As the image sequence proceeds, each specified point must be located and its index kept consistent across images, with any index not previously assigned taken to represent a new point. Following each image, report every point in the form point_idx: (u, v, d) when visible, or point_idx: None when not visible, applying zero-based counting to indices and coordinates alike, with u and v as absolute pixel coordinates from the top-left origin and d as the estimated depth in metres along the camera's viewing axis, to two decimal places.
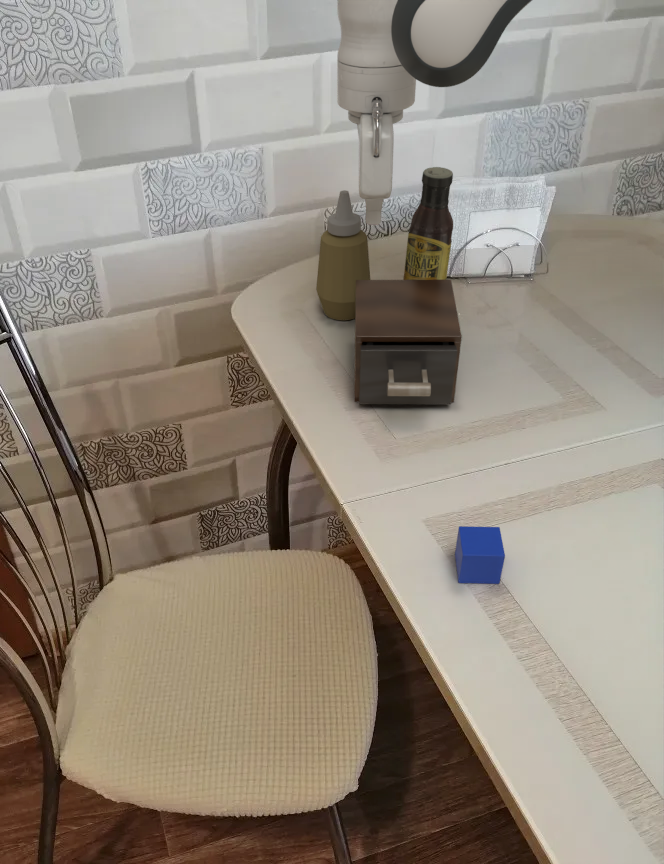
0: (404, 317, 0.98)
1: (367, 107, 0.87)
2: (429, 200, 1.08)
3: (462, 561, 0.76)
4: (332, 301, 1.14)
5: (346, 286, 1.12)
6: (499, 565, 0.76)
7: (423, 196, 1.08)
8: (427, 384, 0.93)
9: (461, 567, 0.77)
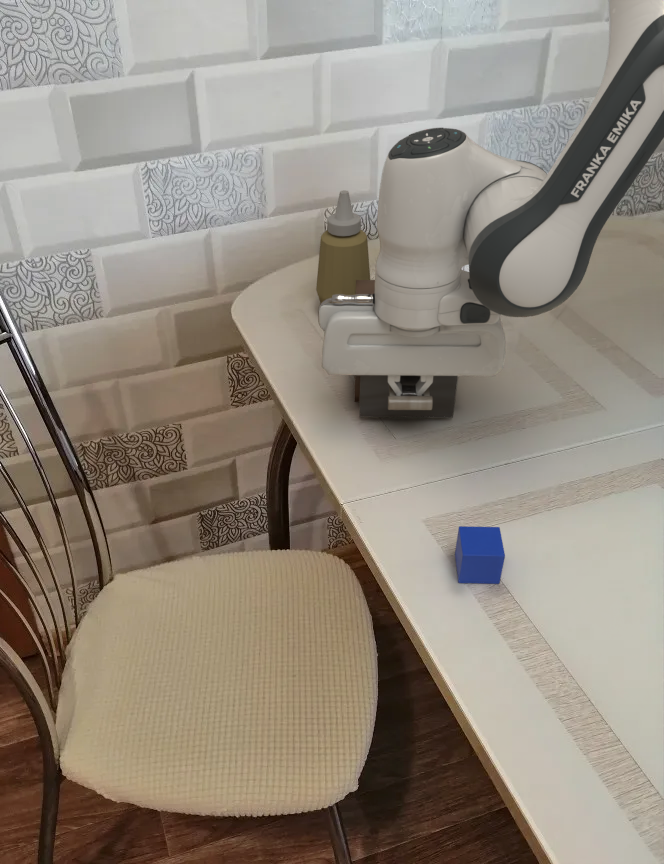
0: None
1: None
2: None
3: (462, 561, 0.76)
4: None
5: (346, 286, 1.12)
6: (499, 565, 0.76)
7: None
8: (429, 398, 0.91)
9: (461, 567, 0.77)
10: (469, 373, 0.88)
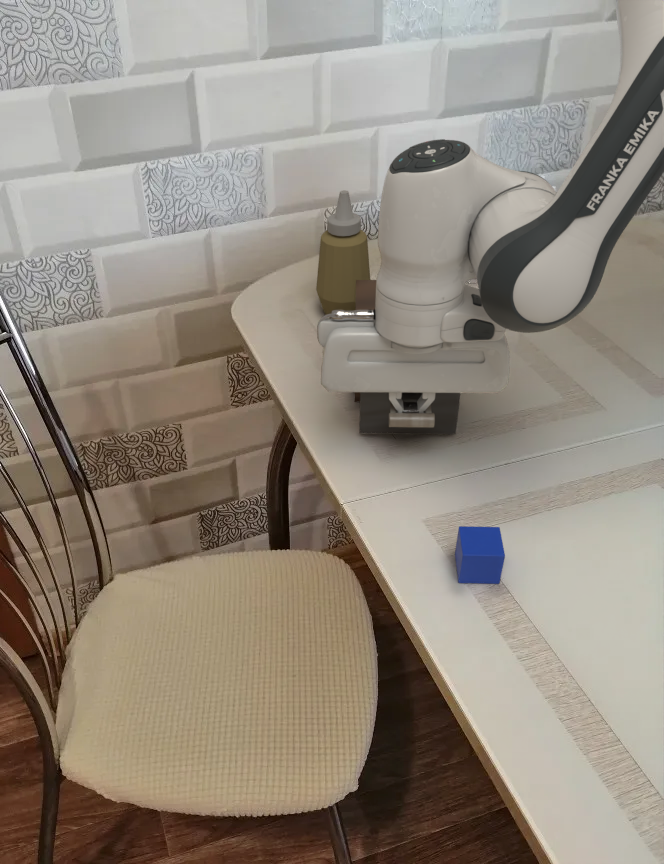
0: None
1: None
2: None
3: (462, 561, 0.76)
4: (332, 301, 1.14)
5: (346, 286, 1.12)
6: (499, 565, 0.76)
7: None
8: (431, 415, 0.88)
9: (461, 567, 0.77)
10: (472, 390, 0.86)
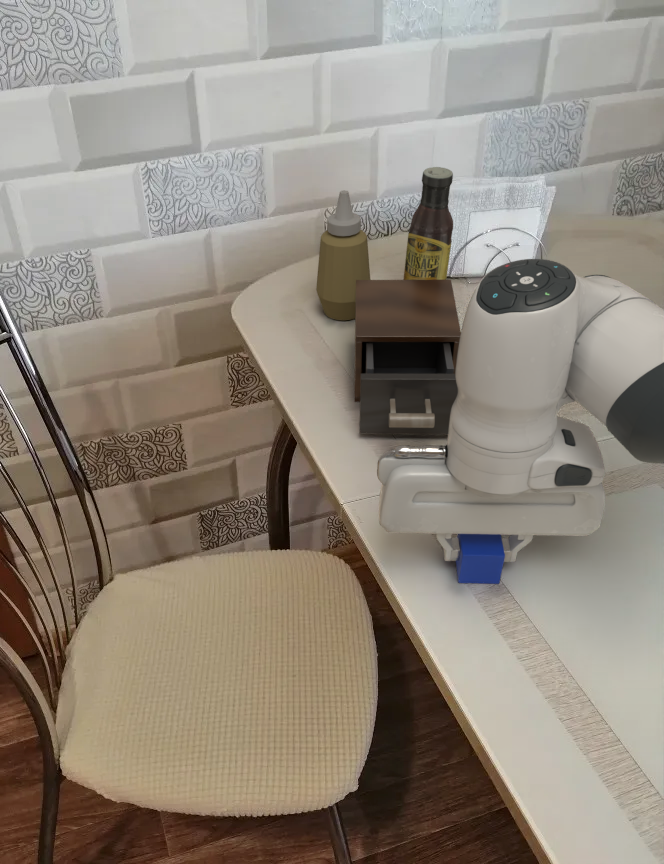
0: (404, 317, 0.98)
1: None
2: (429, 200, 1.08)
3: (462, 561, 0.76)
4: (332, 301, 1.14)
5: (346, 286, 1.12)
6: (499, 565, 0.76)
7: (423, 196, 1.08)
8: (431, 415, 0.88)
9: (461, 567, 0.77)
10: (558, 533, 0.73)
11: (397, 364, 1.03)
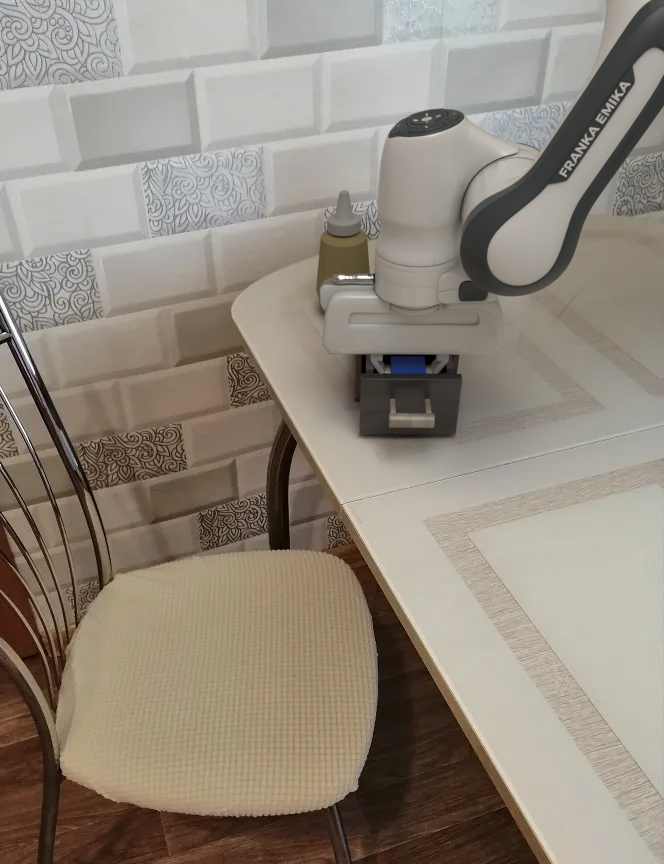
0: None
1: None
2: None
3: None
4: None
5: None
6: None
7: None
8: (431, 415, 0.88)
9: None
10: (467, 352, 0.90)
11: None
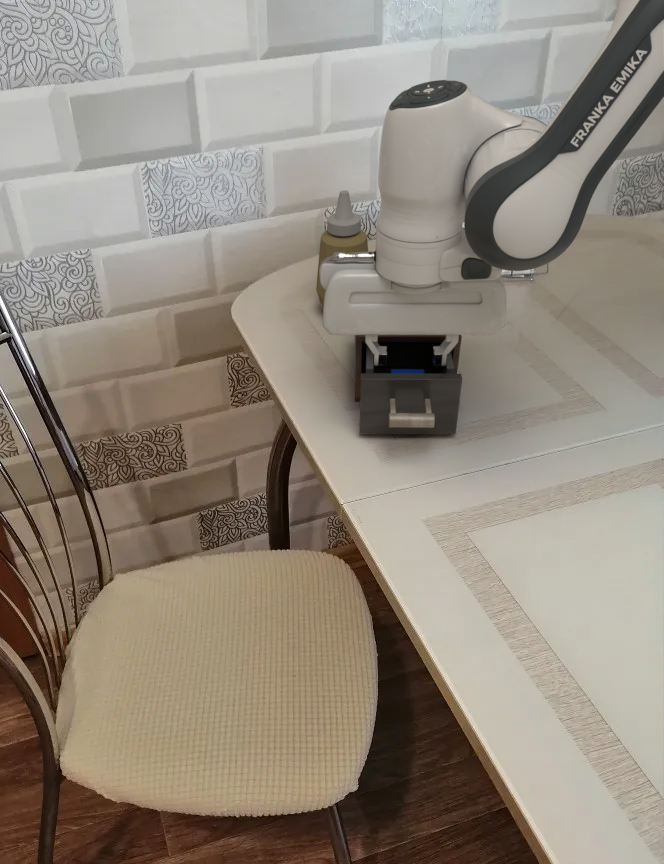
0: None
1: None
2: None
3: None
4: None
5: None
6: None
7: None
8: (431, 415, 0.88)
9: None
10: (470, 332, 0.88)
11: (397, 364, 1.03)
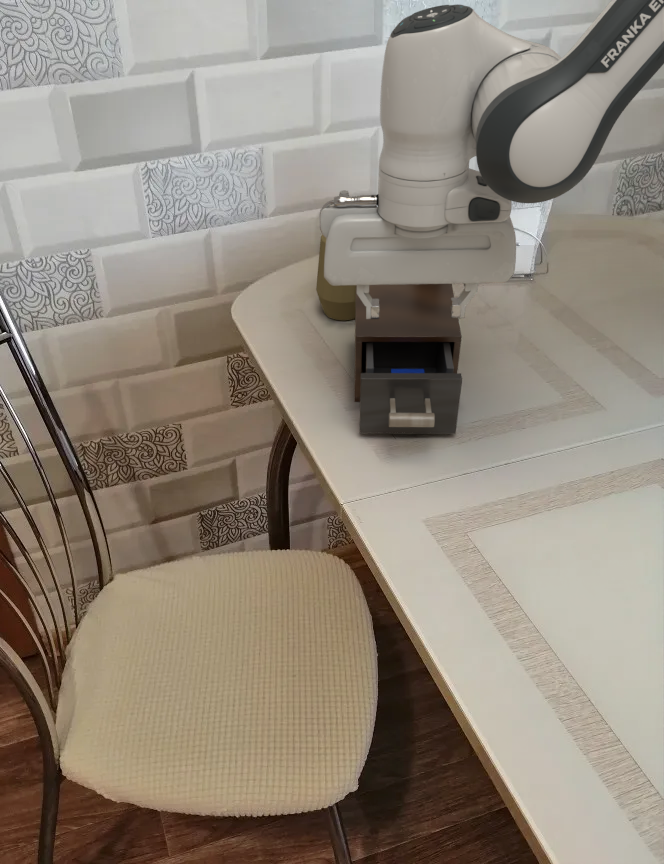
0: (404, 317, 0.98)
1: None
2: None
3: None
4: (332, 301, 1.14)
5: (346, 286, 1.12)
6: None
7: None
8: (431, 415, 0.88)
9: None
10: (478, 280, 0.84)
11: (397, 364, 1.03)
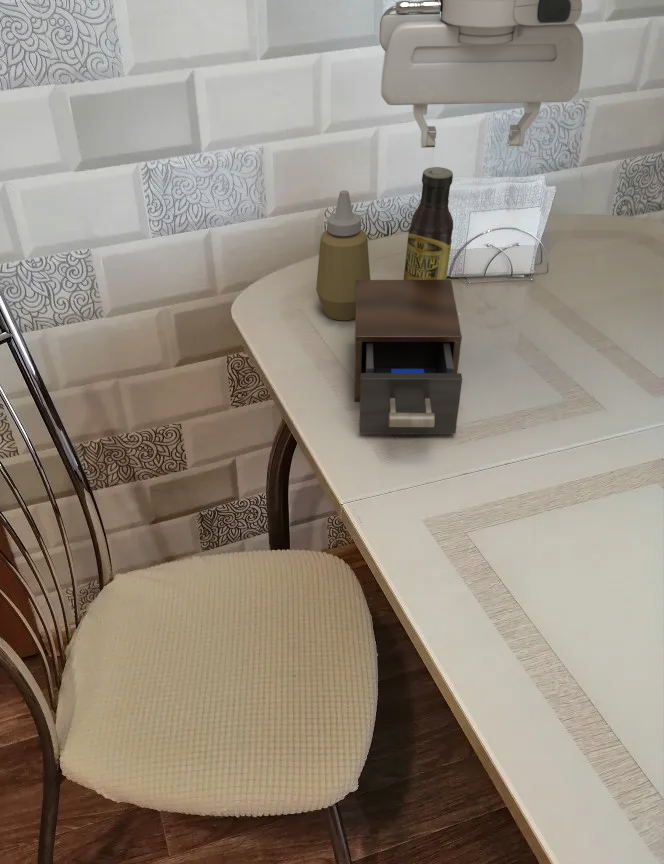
0: (404, 317, 0.98)
1: None
2: (429, 200, 1.08)
3: None
4: (332, 301, 1.14)
5: (346, 286, 1.12)
6: None
7: (423, 196, 1.08)
8: (431, 415, 0.88)
9: None
10: (541, 97, 0.82)
11: (397, 364, 1.03)
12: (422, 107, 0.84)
